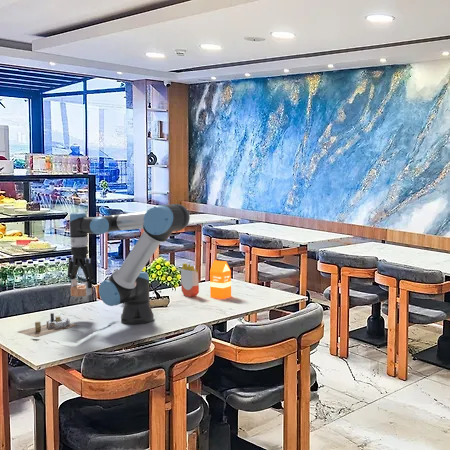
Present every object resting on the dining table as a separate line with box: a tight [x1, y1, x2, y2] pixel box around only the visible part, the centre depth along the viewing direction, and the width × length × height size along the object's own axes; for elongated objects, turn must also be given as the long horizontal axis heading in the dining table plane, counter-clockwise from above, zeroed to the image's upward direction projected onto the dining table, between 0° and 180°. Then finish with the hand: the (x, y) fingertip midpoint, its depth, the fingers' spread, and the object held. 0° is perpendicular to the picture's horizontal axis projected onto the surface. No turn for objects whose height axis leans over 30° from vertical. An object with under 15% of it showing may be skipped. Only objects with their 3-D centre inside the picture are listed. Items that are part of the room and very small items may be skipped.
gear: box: [46, 312, 71, 329], centre depth 255 cm, size 10×10×6 cm
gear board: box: [17, 316, 79, 342], centre depth 251 cm, size 14×22×6 cm, turn 143°
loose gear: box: [70, 284, 94, 298], centre depth 267 cm, size 10×10×4 cm
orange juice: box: [209, 259, 232, 300], centre depth 315 cm, size 8×9×20 cm
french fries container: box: [180, 263, 200, 298], centre depth 319 cm, size 5×11×18 cm, turn 39°
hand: (81, 293), depth 267 cm, fingers closed on loose gear, 10 cm apart
